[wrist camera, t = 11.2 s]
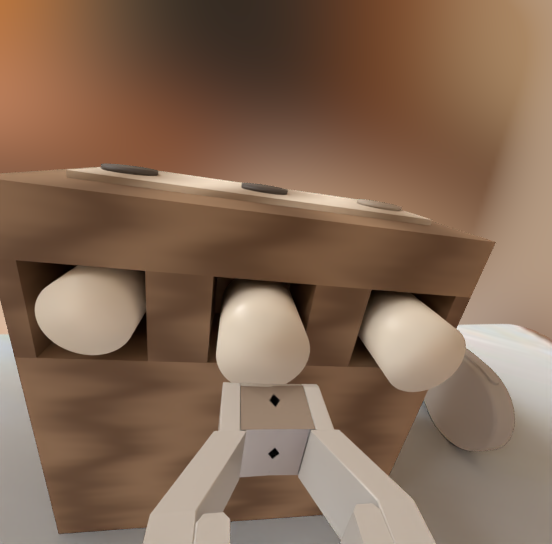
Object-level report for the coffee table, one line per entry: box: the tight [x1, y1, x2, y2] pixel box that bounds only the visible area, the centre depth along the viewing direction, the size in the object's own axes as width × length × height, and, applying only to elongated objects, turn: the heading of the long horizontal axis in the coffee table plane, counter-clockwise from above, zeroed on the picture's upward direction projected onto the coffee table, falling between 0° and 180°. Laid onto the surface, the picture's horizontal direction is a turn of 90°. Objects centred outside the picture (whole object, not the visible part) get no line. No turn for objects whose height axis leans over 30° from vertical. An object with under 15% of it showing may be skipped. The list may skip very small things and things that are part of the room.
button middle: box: [216, 278, 310, 384], centre depth 12 cm, size 4×4×4 cm
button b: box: [358, 290, 466, 392], centre depth 14 cm, size 4×4×4 cm
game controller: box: [424, 349, 515, 451], centre depth 31 cm, size 20×2×8 cm, turn 9°
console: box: [0, 164, 496, 534], centre depth 18 cm, size 20×8×20 cm, turn 98°
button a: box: [35, 265, 146, 355], centre depth 13 cm, size 4×4×4 cm
